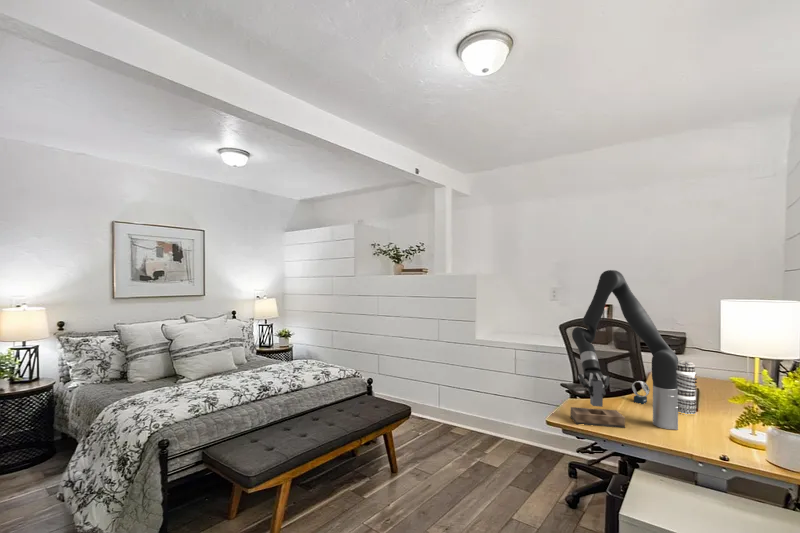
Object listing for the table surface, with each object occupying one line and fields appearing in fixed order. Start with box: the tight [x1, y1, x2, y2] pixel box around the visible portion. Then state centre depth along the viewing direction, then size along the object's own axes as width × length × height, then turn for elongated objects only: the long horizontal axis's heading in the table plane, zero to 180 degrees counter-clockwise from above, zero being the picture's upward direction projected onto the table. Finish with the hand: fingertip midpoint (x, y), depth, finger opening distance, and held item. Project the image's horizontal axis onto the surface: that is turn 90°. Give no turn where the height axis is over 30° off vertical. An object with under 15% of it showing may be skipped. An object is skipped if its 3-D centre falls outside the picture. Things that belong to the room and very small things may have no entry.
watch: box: [631, 380, 650, 405], centre depth 212 cm, size 6×8×11 cm
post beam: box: [570, 406, 626, 429], centre depth 180 cm, size 20×10×4 cm, turn 81°
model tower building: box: [676, 360, 698, 414], centre depth 197 cm, size 9×9×25 cm
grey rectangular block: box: [589, 379, 604, 408], centre depth 181 cm, size 4×4×11 cm
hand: (598, 395), depth 179 cm, fingers closed on grey rectangular block, 4 cm apart
